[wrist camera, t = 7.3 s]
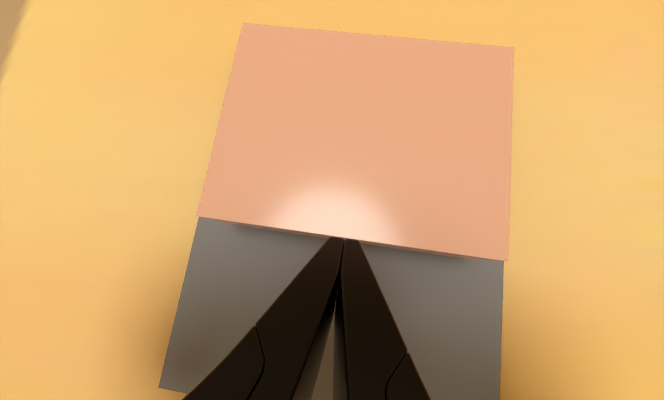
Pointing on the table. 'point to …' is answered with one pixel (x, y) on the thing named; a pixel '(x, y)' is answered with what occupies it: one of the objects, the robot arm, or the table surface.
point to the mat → (397, 287)
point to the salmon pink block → (366, 141)
